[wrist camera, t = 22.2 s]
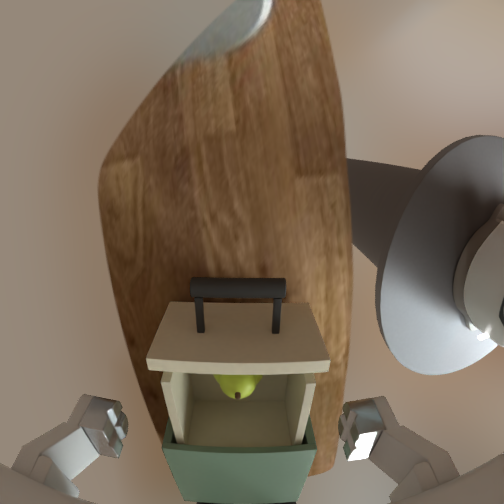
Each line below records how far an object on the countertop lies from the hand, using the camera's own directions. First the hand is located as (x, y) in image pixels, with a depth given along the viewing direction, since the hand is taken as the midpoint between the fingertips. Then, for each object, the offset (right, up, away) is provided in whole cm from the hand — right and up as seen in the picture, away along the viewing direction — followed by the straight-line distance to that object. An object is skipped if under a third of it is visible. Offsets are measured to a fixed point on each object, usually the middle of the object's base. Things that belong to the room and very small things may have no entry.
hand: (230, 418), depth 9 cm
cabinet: (-1, -16, +26) cm, 30 cm away
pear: (-1, -4, +19) cm, 20 cm away
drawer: (-1, -3, +20) cm, 21 cm away
